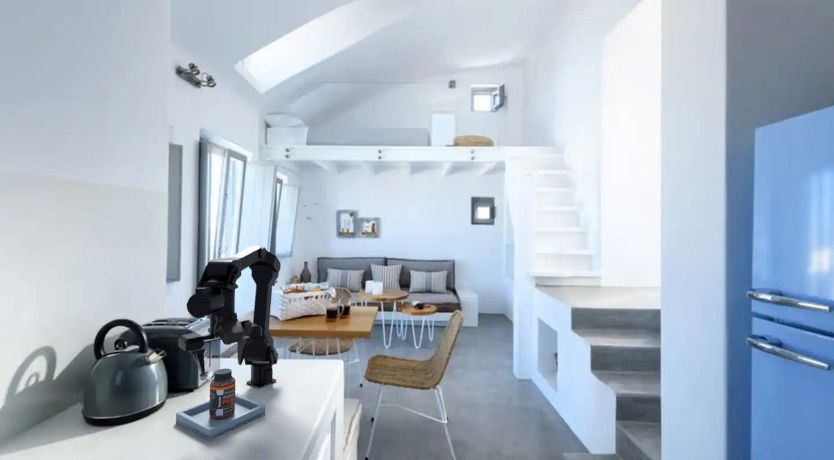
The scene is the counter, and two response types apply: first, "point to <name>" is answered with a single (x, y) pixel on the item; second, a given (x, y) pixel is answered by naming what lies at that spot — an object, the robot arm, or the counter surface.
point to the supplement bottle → (222, 394)
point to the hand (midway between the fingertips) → (221, 369)
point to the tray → (213, 428)
